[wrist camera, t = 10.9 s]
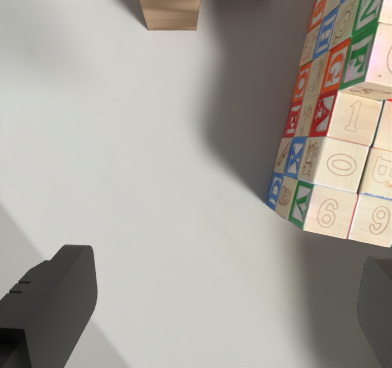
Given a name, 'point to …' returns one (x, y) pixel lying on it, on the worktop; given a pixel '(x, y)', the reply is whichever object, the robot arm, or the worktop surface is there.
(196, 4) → the wooden mallet
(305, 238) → the worktop surface
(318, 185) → the stack of blocks
